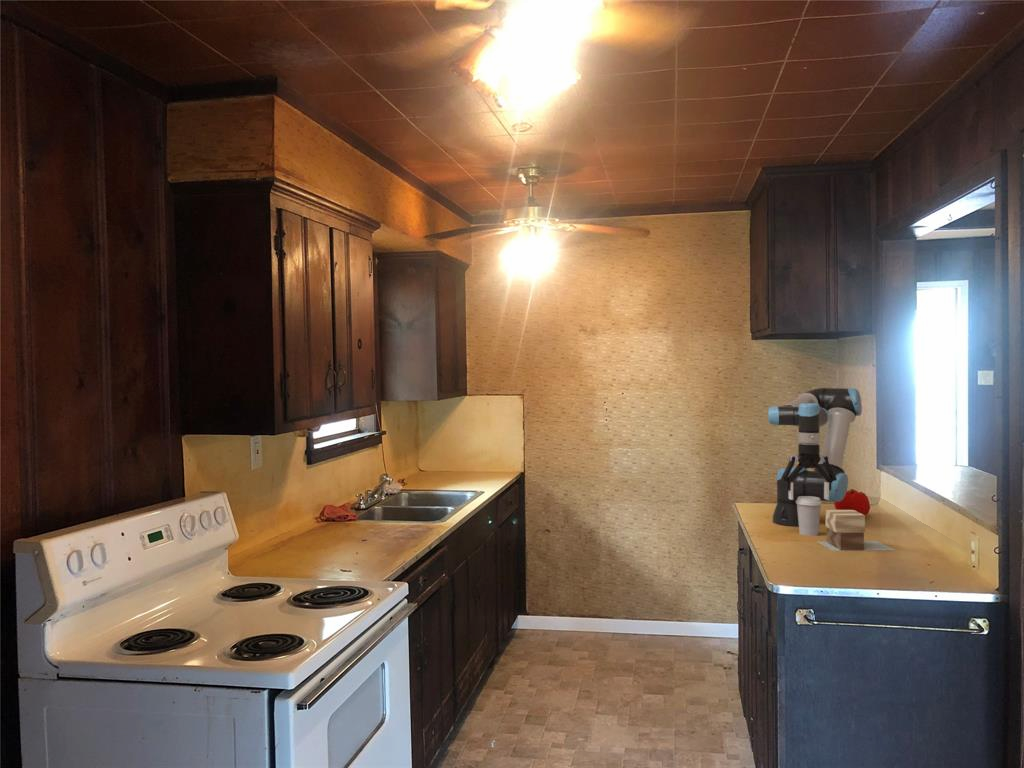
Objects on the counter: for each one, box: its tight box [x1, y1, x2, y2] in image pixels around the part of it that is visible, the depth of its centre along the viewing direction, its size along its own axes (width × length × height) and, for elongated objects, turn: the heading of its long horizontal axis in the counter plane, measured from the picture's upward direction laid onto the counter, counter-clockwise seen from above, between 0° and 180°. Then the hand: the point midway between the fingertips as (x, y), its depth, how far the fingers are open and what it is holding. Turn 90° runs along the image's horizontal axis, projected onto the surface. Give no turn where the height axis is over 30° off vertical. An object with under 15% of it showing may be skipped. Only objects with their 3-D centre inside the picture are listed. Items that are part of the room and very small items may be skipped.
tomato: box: [833, 489, 871, 517], centre depth 326 cm, size 13×14×12 cm
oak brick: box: [825, 509, 866, 534], centre depth 269 cm, size 10×10×6 cm
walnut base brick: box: [826, 527, 865, 551], centre depth 269 cm, size 12×8×6 cm, turn 0°
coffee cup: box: [796, 496, 823, 537], centre depth 289 cm, size 10×10×15 cm
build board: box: [817, 540, 896, 552], centre depth 269 cm, size 13×22×1 cm, turn 90°
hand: (808, 499), depth 288 cm, fingers open, 13 cm apart
